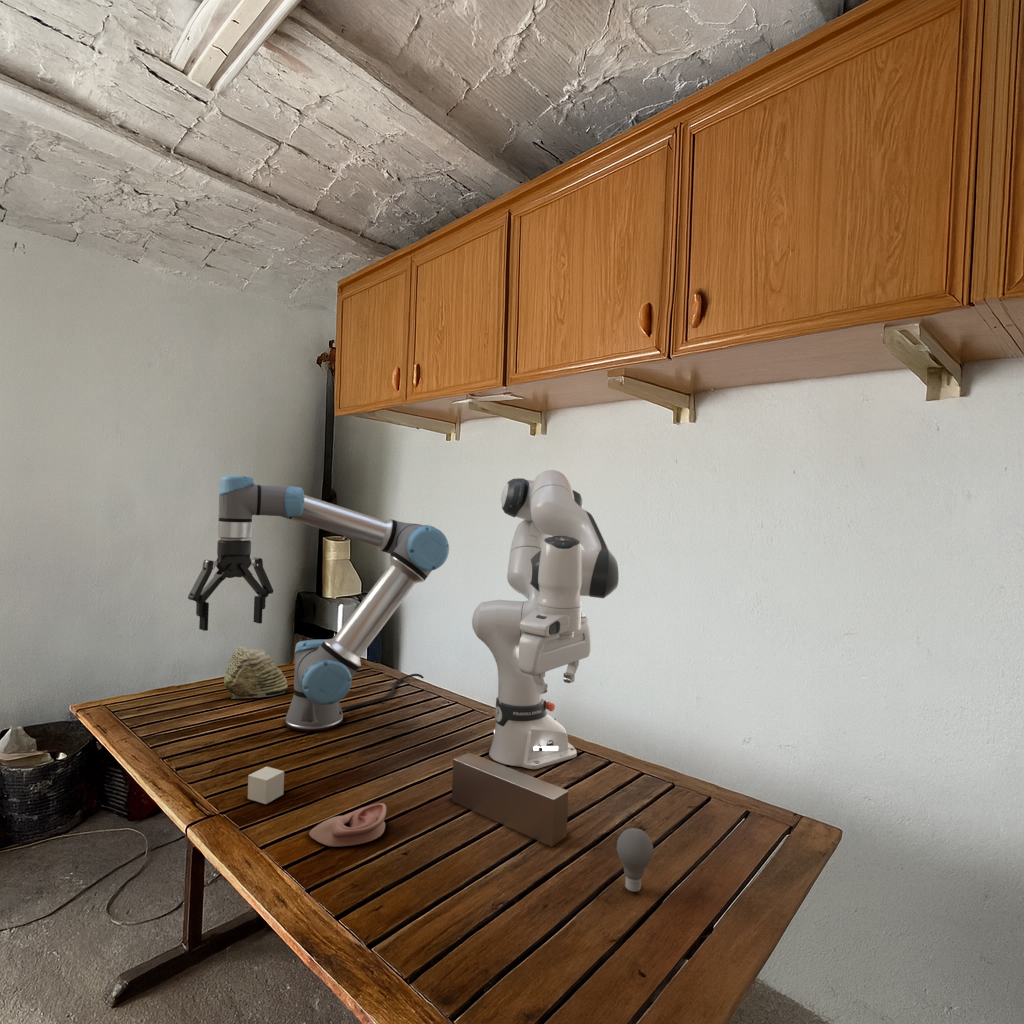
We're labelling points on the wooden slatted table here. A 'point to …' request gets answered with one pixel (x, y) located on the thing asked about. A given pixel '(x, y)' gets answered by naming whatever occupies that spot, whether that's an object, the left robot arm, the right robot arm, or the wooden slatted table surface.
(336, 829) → the anatomical model
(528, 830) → the beam
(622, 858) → the light bulb
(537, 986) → the wooden slatted table surface
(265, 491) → the left robot arm
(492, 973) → the wooden slatted table surface
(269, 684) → the fossil
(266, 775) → the plastic block
